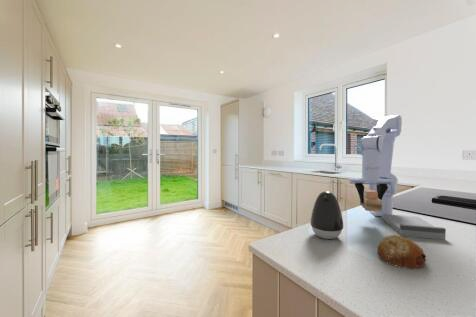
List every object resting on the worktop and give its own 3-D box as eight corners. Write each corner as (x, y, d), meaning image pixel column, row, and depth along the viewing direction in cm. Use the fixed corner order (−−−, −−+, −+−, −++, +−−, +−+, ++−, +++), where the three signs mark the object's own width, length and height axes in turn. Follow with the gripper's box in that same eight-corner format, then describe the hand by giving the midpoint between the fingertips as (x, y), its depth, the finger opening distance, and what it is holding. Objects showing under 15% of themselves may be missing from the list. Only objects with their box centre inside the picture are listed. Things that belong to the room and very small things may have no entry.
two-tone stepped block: (359, 204, 89) (359, 194, 89) (373, 204, 87) (373, 195, 87) (366, 210, 79) (366, 200, 79) (382, 211, 78) (382, 200, 78)
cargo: (363, 196, 86) (363, 189, 85) (374, 196, 85) (374, 190, 84) (366, 198, 82) (366, 191, 82) (377, 198, 81) (377, 192, 81)
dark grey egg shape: (307, 239, 71) (308, 193, 70) (313, 228, 80) (313, 187, 80) (342, 245, 66) (343, 195, 66) (343, 233, 76) (344, 189, 75)
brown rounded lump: (387, 261, 64) (373, 234, 66) (429, 256, 58) (413, 226, 60) (383, 277, 56) (368, 245, 58) (431, 273, 50) (413, 238, 52)
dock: (382, 218, 90) (382, 210, 90) (417, 221, 87) (417, 212, 87) (401, 235, 73) (401, 225, 73) (445, 239, 70) (445, 228, 69)
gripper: (351, 168, 81) (351, 204, 82) (397, 169, 77) (396, 207, 77) (348, 166, 88) (347, 200, 88) (389, 167, 83) (389, 202, 84)
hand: (370, 203), depth 83 cm, fingers closed on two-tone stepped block, 5 cm apart
